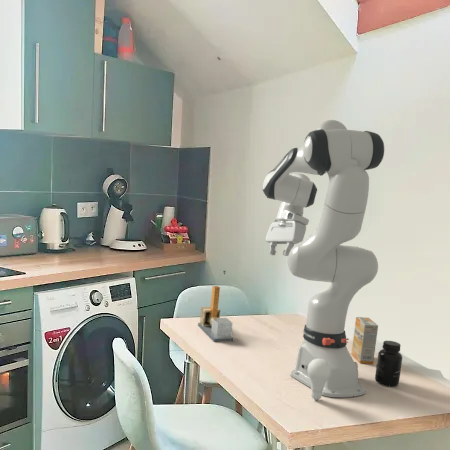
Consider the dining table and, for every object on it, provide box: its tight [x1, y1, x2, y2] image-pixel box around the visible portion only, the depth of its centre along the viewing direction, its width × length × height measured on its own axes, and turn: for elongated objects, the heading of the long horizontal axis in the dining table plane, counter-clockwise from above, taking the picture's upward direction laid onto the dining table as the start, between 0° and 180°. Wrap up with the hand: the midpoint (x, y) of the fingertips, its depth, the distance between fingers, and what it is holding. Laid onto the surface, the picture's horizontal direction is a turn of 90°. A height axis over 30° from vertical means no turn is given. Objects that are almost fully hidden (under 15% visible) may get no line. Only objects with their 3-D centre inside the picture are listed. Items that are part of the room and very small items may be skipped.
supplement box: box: [351, 316, 379, 365], centre depth 171 cm, size 8×5×13 cm, turn 6°
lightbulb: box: [307, 358, 331, 401], centre depth 137 cm, size 6×6×11 cm
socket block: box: [199, 306, 221, 326], centre depth 190 cm, size 4×6×6 cm, turn 111°
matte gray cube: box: [211, 317, 233, 339], centre depth 179 cm, size 6×5×5 cm
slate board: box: [197, 322, 235, 343], centre depth 185 cm, size 18×7×1 cm, turn 21°
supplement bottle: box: [374, 340, 403, 388], centre depth 153 cm, size 7×7×12 cm
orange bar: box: [206, 285, 221, 326], centre depth 185 cm, size 10×4×14 cm, turn 21°
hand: (278, 255), depth 186 cm, fingers open, 8 cm apart
